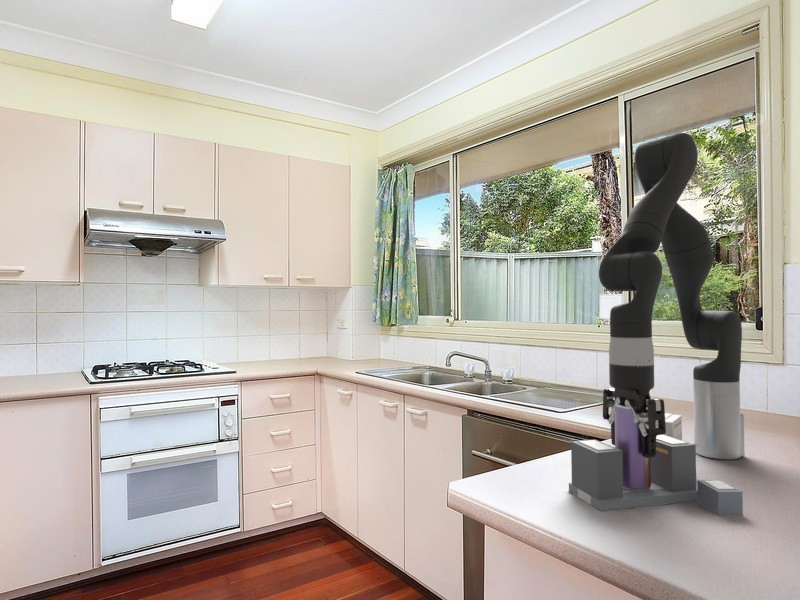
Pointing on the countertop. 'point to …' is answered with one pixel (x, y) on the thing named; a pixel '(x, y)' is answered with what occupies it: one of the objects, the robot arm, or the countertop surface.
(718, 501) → the block
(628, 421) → the beverage can
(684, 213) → the robot arm
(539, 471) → the countertop surface
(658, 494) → the grey u-shaped block
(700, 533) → the countertop surface
